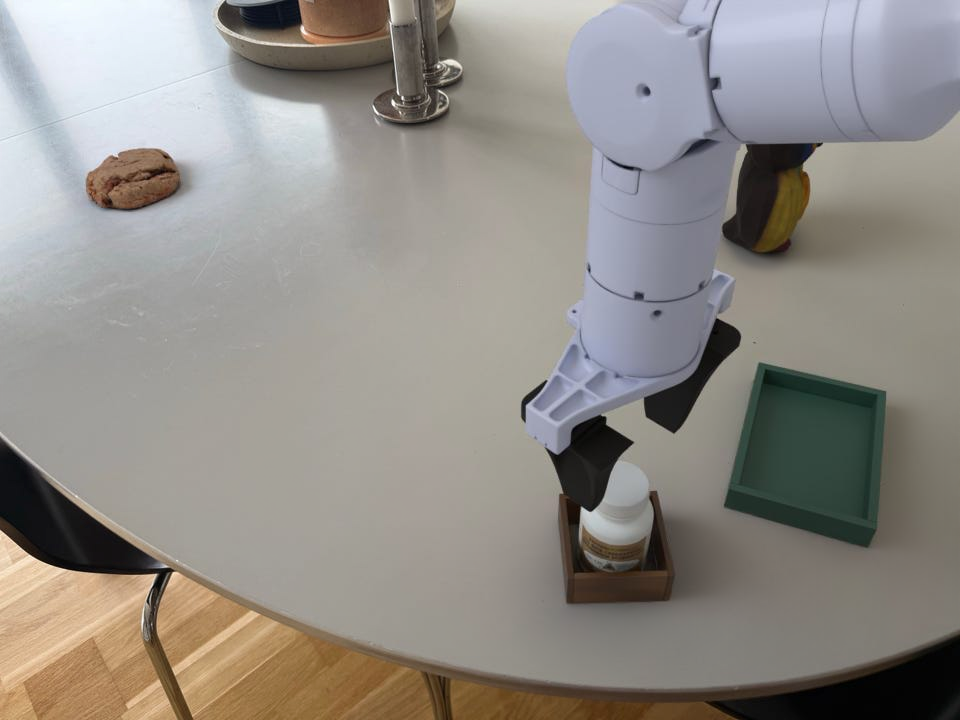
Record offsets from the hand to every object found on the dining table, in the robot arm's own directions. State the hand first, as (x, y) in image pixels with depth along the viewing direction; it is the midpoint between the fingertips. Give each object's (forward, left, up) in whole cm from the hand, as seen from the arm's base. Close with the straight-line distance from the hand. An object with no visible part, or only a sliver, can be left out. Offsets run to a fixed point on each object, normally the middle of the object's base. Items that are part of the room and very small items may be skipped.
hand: (623, 459), depth 46 cm
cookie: (+67, +1, -10) cm, 68 cm away
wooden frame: (0, 0, -10) cm, 10 cm away
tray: (-4, -16, -10) cm, 20 cm away
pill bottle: (0, 0, -10) cm, 10 cm away
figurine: (+13, -37, -10) cm, 41 cm away
